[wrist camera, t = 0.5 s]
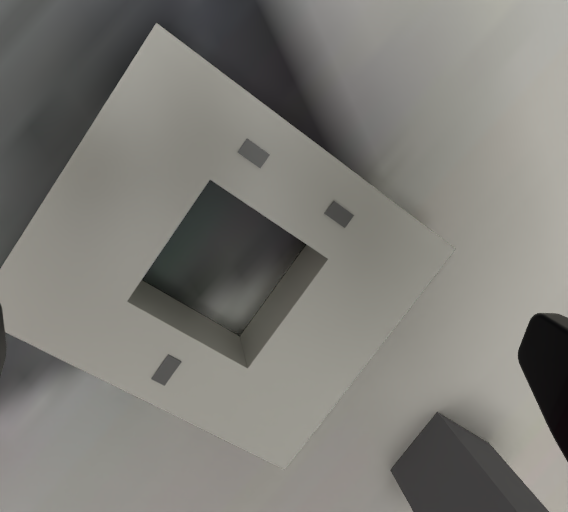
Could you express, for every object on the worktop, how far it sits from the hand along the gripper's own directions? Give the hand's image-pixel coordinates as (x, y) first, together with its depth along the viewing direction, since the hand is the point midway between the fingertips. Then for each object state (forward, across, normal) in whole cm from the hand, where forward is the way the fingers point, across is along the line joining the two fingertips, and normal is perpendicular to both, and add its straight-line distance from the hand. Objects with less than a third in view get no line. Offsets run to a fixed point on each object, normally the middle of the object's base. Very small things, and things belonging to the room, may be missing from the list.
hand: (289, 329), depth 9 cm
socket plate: (+14, 0, +6) cm, 15 cm away
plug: (+12, -12, +16) cm, 24 cm away
